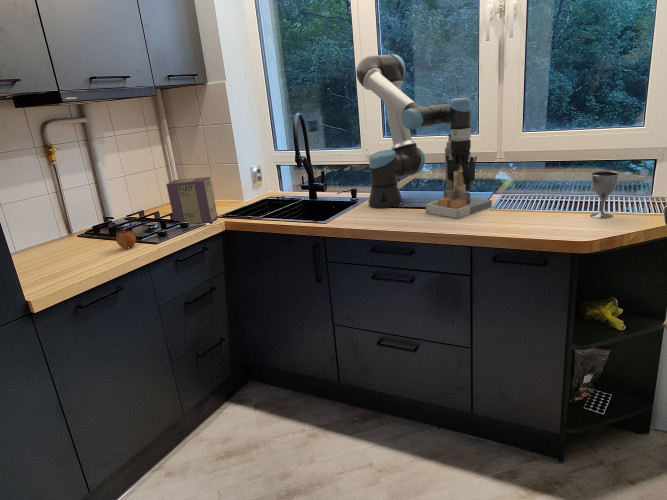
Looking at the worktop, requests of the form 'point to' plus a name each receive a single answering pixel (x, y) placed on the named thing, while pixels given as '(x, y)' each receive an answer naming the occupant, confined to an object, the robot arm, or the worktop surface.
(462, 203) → the tile
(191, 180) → the box
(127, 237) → the apple
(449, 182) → the thermos bottle
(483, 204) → the board
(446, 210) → the tray
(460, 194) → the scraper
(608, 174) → the wine glass
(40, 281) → the worktop surface
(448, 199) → the tile
